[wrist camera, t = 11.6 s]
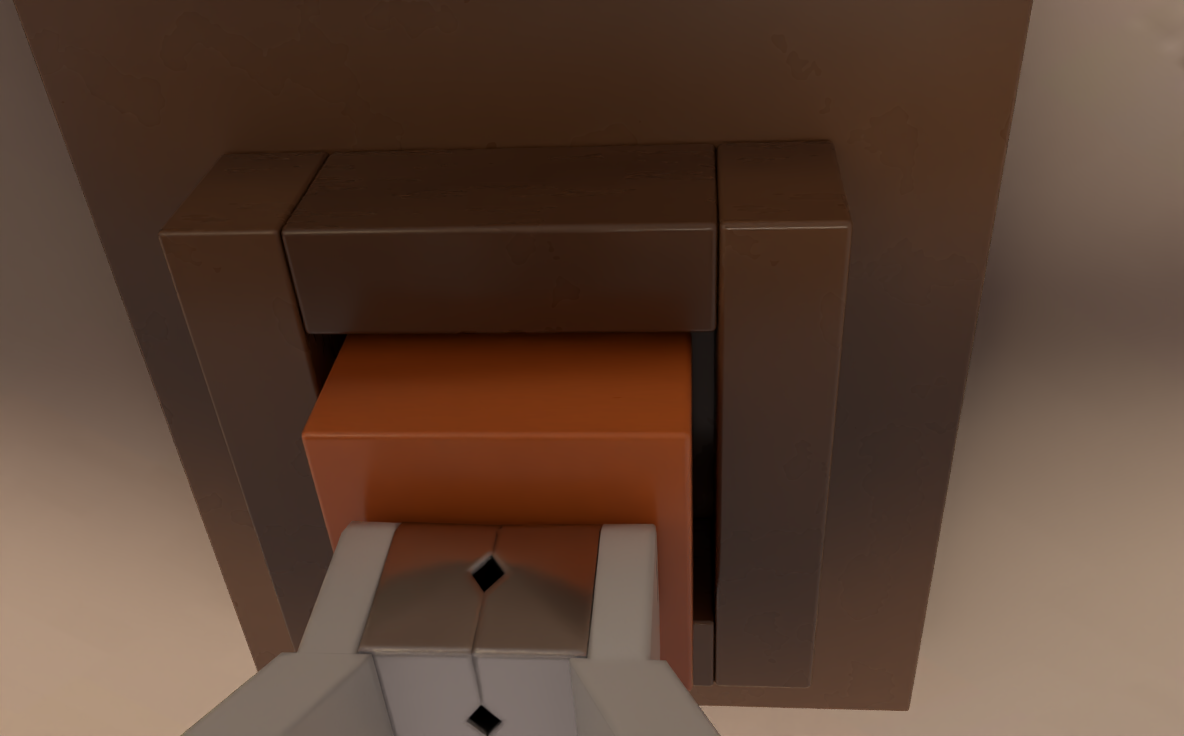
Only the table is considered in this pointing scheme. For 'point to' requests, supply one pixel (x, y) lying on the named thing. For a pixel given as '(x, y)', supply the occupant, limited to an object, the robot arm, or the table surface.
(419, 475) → the key
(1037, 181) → the table surface
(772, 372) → the brown button base
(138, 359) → the table surface
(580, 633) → the robot arm
